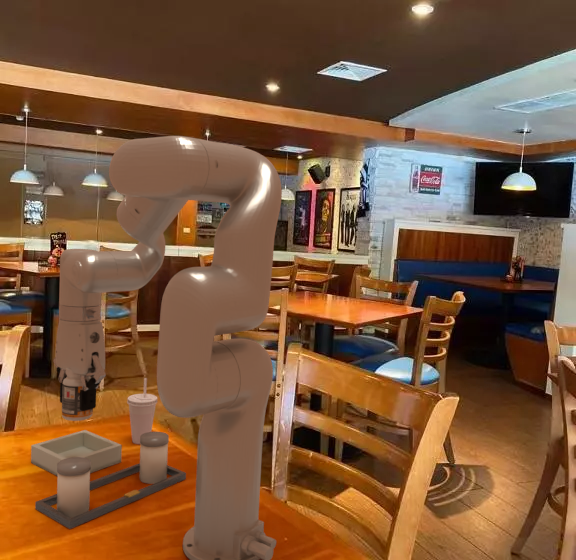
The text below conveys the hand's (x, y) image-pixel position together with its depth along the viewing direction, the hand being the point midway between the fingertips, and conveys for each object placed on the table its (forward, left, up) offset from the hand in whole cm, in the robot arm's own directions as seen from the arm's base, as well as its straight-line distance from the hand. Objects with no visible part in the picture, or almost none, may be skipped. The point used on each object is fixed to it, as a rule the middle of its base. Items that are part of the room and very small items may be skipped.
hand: (77, 404), depth 115 cm
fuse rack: (-16, +3, -12) cm, 20 cm away
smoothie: (0, -16, -12) cm, 20 cm away
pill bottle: (0, 0, -3) cm, 3 cm away
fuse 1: (-16, +12, -12) cm, 23 cm away
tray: (0, 0, -12) cm, 12 cm away
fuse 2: (-16, -5, -12) cm, 21 cm away
